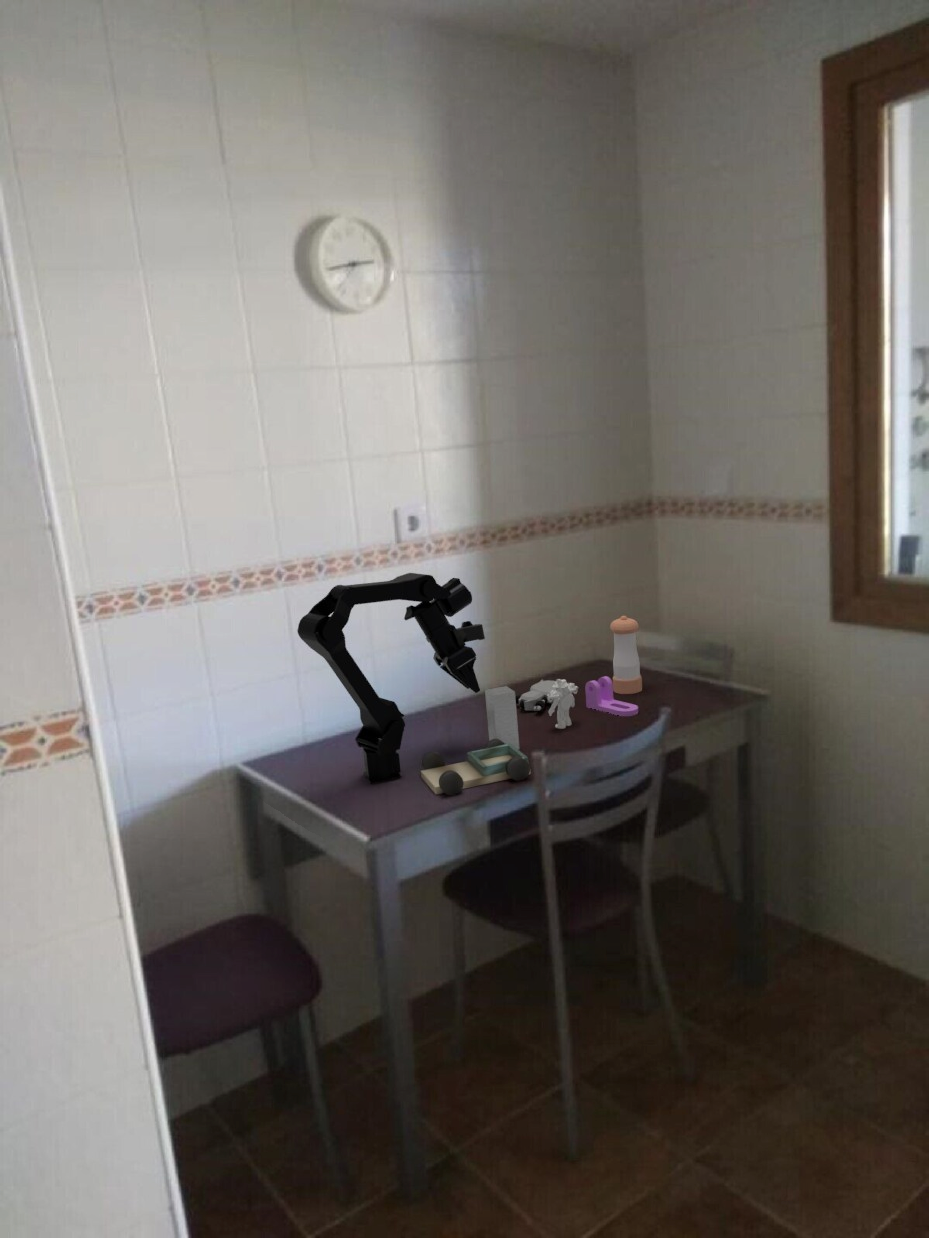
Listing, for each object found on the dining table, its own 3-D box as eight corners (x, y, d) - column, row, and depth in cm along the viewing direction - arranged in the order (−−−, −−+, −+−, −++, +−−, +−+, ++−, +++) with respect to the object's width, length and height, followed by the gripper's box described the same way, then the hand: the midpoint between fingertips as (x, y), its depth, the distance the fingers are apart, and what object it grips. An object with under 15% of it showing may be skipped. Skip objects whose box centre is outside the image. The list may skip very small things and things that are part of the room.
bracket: (586, 708, 230) (584, 680, 228) (602, 702, 233) (600, 674, 231) (627, 718, 220) (625, 689, 218) (643, 712, 223) (641, 683, 221)
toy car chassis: (439, 798, 183) (436, 776, 182) (418, 774, 196) (416, 754, 195) (534, 777, 189) (532, 756, 188) (508, 755, 202) (507, 736, 201)
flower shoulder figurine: (557, 733, 214) (554, 681, 211) (544, 729, 216) (540, 679, 214) (583, 721, 220) (580, 671, 217) (570, 718, 222) (566, 669, 220)
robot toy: (540, 721, 225) (581, 700, 235) (537, 703, 224) (579, 683, 234) (504, 712, 235) (545, 692, 244) (501, 695, 233) (543, 676, 243)
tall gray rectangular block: (498, 753, 204) (493, 695, 201) (489, 746, 209) (484, 689, 206) (519, 749, 206) (514, 691, 203) (511, 742, 210) (506, 686, 208)
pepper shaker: (611, 694, 238) (606, 619, 234) (615, 685, 245) (611, 613, 241) (640, 694, 236) (636, 619, 232) (643, 685, 243) (640, 612, 239)
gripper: (476, 608, 193) (515, 673, 195) (460, 607, 211) (496, 666, 213) (430, 636, 191) (470, 702, 193) (417, 633, 210) (454, 693, 212)
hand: (473, 689), depth 203 cm, fingers open, 9 cm apart
